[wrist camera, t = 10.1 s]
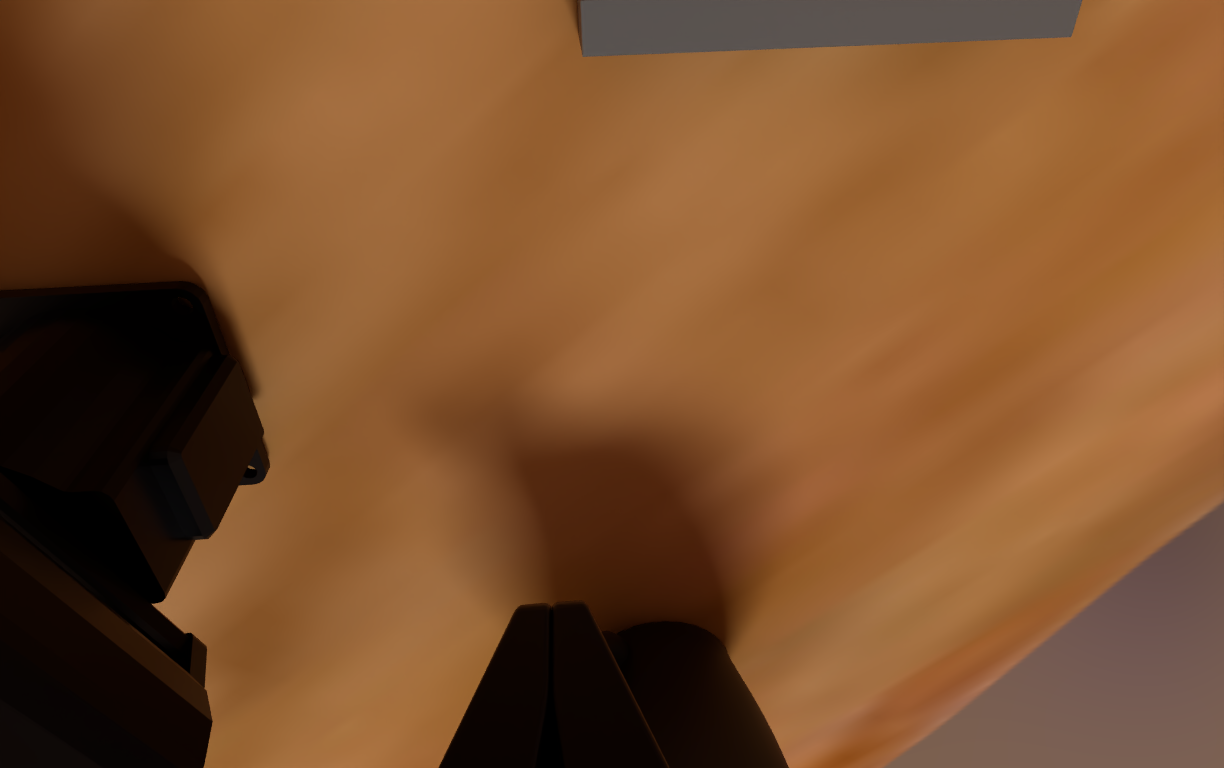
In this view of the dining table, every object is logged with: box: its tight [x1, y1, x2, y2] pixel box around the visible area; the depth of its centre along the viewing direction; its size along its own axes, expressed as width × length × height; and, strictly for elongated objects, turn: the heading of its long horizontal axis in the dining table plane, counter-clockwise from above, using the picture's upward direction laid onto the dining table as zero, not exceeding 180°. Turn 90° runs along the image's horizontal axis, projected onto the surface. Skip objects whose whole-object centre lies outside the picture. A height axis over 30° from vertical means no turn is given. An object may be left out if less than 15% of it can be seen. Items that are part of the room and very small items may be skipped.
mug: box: [602, 622, 789, 768], centre depth 25 cm, size 8×12×10 cm
